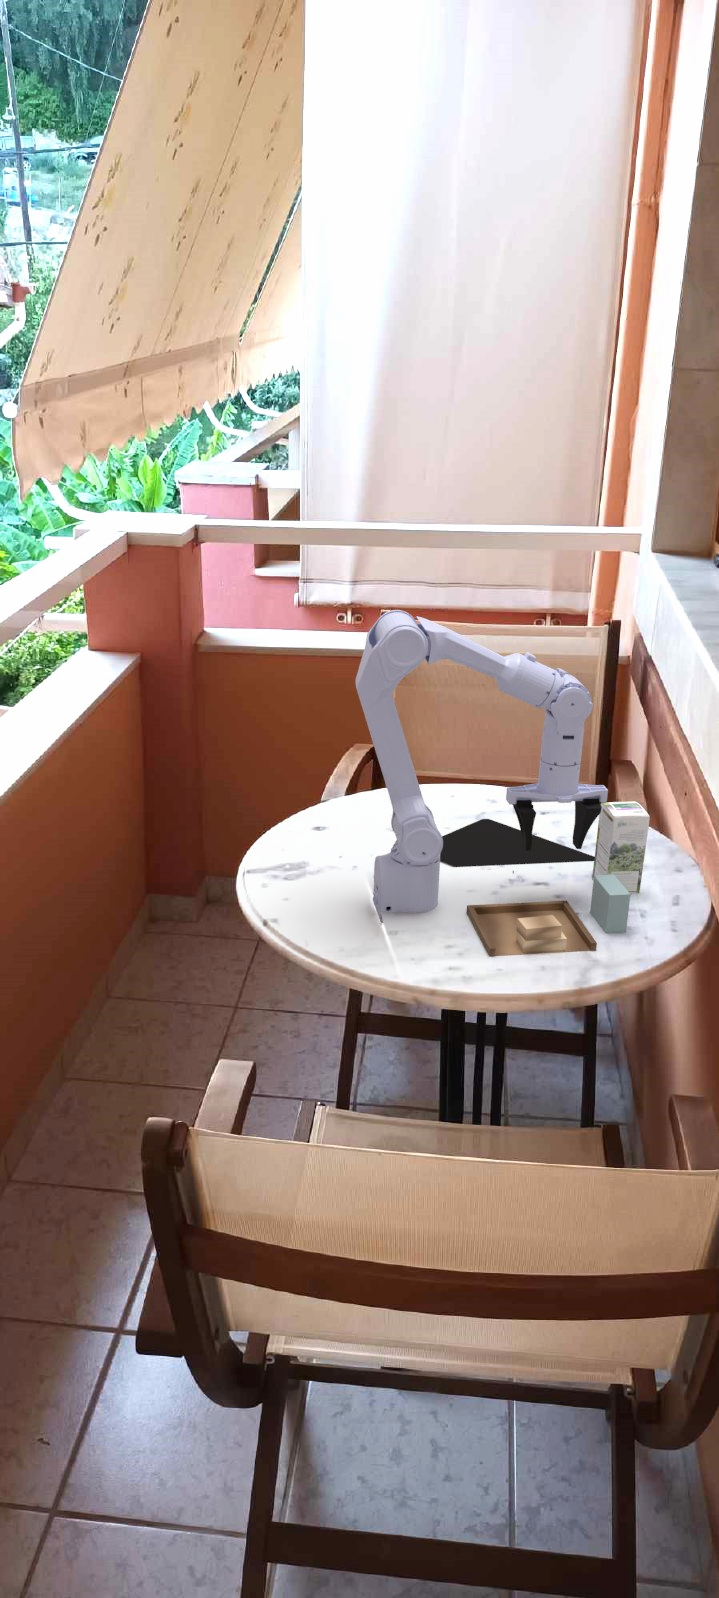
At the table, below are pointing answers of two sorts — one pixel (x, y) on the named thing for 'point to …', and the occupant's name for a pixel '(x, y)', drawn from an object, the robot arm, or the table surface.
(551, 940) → the offcut lower
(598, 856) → the syrup box
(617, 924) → the sage green tall block
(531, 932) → the offcut upper
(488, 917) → the brown wooden tray
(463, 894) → the table surface
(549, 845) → the tablet
